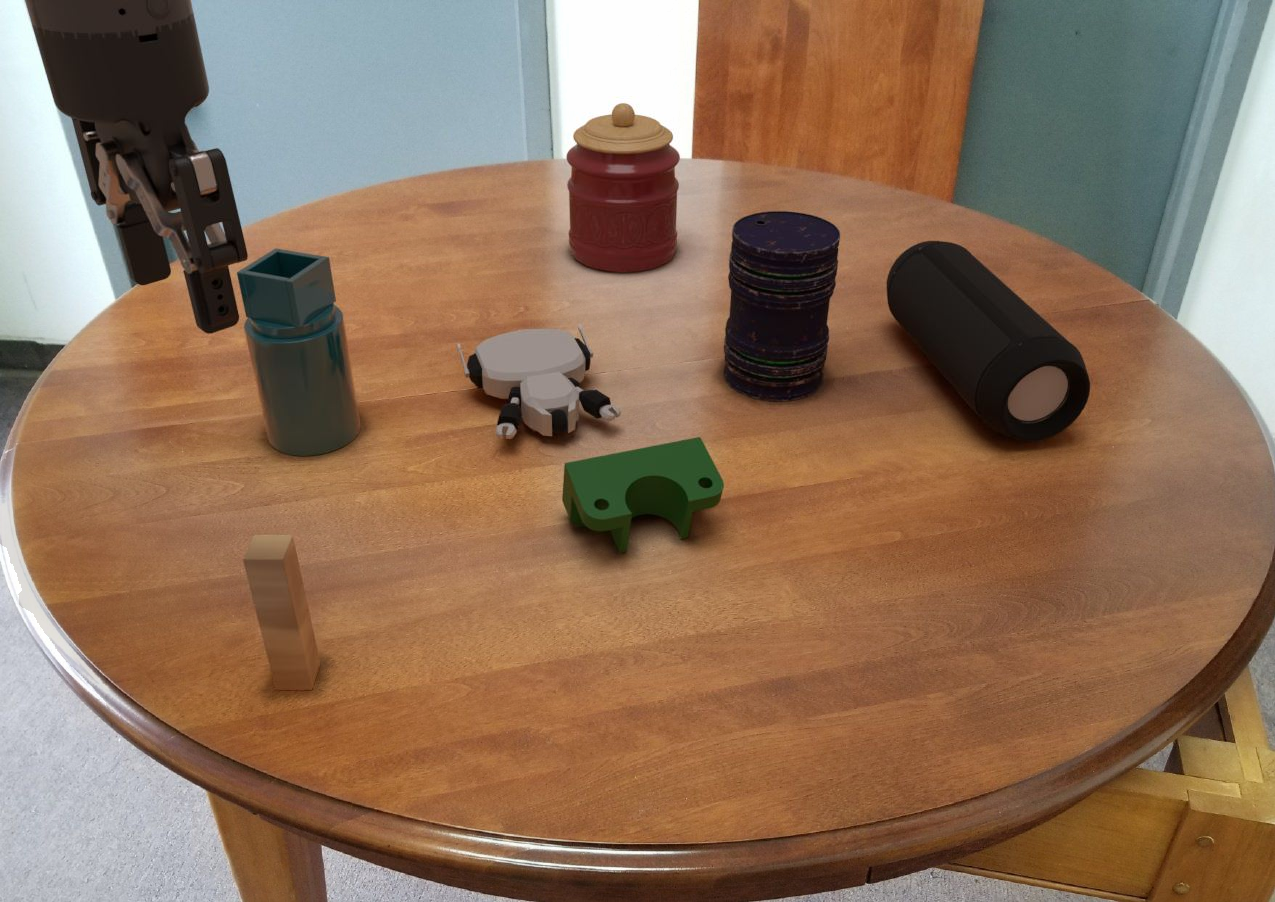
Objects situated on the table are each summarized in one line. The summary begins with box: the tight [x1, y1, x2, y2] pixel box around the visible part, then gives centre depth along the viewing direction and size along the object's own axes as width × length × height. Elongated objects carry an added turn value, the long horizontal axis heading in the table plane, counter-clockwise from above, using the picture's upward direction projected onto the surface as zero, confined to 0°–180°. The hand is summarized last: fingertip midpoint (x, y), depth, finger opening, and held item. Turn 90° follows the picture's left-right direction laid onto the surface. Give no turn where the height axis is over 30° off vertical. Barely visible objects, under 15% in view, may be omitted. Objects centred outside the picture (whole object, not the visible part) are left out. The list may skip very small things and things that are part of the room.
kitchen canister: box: [565, 102, 681, 273], centre depth 124 cm, size 13×13×18 cm
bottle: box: [236, 248, 362, 457], centre depth 91 cm, size 8×8×16 cm
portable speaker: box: [886, 240, 1091, 442], centre depth 101 cm, size 26×10×10 cm, turn 11°
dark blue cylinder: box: [723, 210, 841, 402], centre depth 100 cm, size 10×10×15 cm
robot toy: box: [456, 324, 622, 440], centre depth 98 cm, size 12×4×15 cm
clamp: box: [561, 436, 725, 554], centre depth 83 cm, size 12×6×9 cm, turn 104°
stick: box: [242, 534, 321, 691], centre depth 68 cm, size 2×2×11 cm
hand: (185, 303), depth 63 cm, fingers open, 8 cm apart
